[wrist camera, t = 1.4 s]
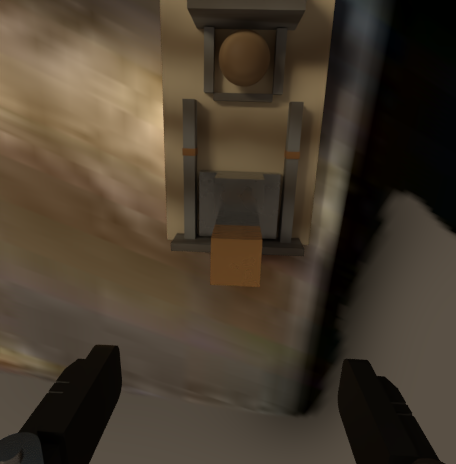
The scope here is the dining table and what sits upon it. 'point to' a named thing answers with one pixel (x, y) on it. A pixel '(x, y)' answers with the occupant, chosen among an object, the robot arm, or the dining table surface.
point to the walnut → (244, 57)
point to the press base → (243, 109)
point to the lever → (237, 222)
